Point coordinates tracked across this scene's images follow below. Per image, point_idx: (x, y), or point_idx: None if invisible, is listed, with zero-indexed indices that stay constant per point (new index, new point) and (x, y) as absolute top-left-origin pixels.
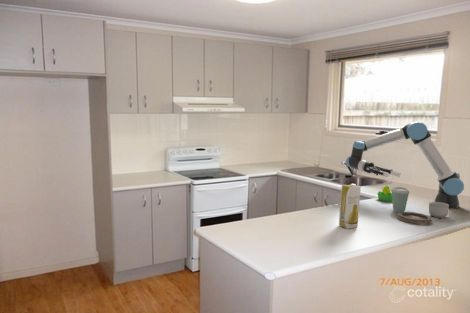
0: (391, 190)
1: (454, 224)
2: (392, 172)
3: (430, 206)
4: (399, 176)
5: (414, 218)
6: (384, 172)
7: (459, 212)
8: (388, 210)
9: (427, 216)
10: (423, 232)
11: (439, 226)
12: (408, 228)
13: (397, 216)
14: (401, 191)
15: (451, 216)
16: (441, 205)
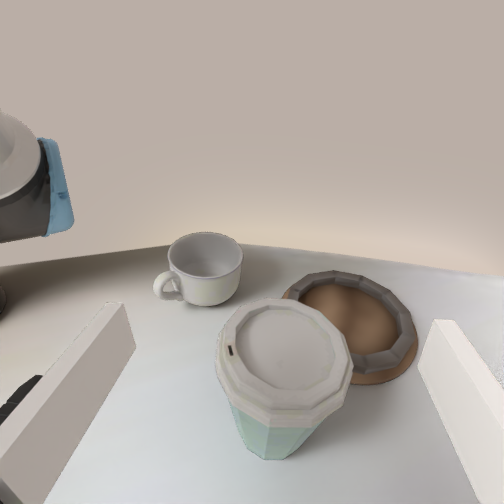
0: (323, 414)
1: (265, 248)
2: (45, 439)
3: (233, 275)
4: (128, 339)
5: (347, 316)
6: (494, 388)
7: (82, 266)
8: (311, 487)
9: (305, 283)
10: (432, 269)
11: (328, 262)
12: (456, 301)
13: (400, 369)
14: (328, 321)
15: (169, 268)
16: (172, 260)
